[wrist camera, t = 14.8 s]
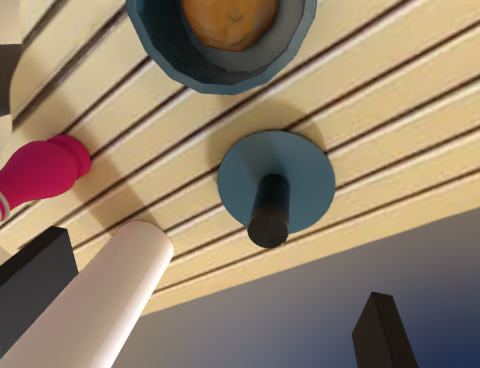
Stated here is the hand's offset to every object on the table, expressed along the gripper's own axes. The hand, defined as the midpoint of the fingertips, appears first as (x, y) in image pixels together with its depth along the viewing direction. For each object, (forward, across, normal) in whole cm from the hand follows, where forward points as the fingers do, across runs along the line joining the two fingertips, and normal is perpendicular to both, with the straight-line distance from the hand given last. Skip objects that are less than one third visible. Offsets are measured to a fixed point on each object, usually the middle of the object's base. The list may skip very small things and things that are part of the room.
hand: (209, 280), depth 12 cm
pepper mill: (+24, -26, -8) cm, 36 cm away
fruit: (+23, -4, +12) cm, 26 cm away
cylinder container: (+24, -16, -22) cm, 36 cm away
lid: (+23, +2, -7) cm, 24 cm away
